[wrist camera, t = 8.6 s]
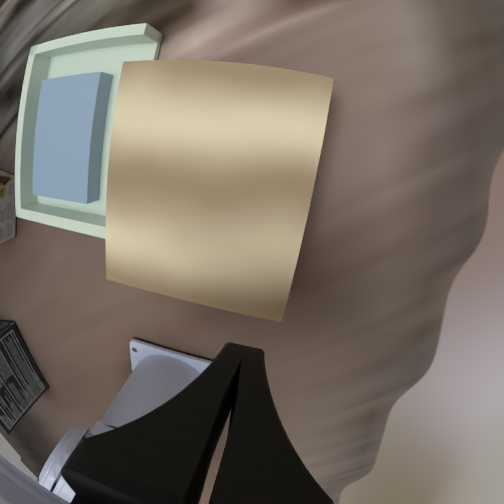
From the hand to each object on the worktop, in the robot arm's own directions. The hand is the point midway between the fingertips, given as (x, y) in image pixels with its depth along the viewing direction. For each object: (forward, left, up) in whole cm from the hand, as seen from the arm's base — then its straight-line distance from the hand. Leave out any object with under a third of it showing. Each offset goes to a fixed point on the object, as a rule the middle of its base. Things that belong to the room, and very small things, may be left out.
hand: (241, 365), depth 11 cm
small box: (-20, +29, -10) cm, 37 cm away
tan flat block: (+5, +4, -10) cm, 12 cm away
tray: (+8, +15, -10) cm, 19 cm away
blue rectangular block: (+7, +16, -8) cm, 19 cm away
